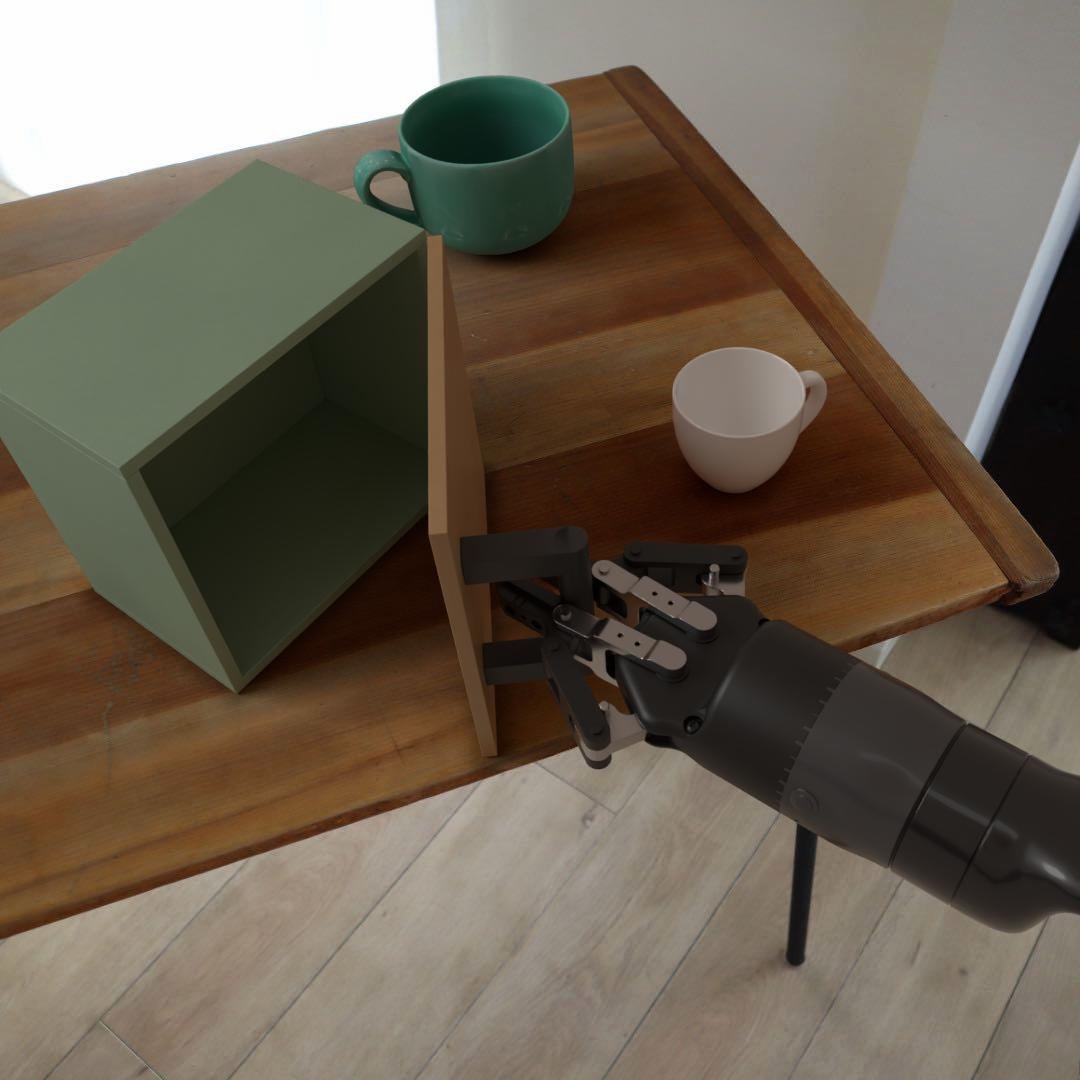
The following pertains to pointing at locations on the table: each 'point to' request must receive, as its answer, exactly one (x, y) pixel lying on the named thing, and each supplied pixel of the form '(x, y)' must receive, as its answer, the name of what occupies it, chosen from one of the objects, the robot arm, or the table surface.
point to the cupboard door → (482, 525)
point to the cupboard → (231, 413)
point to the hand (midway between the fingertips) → (514, 567)
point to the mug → (481, 163)
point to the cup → (742, 414)
